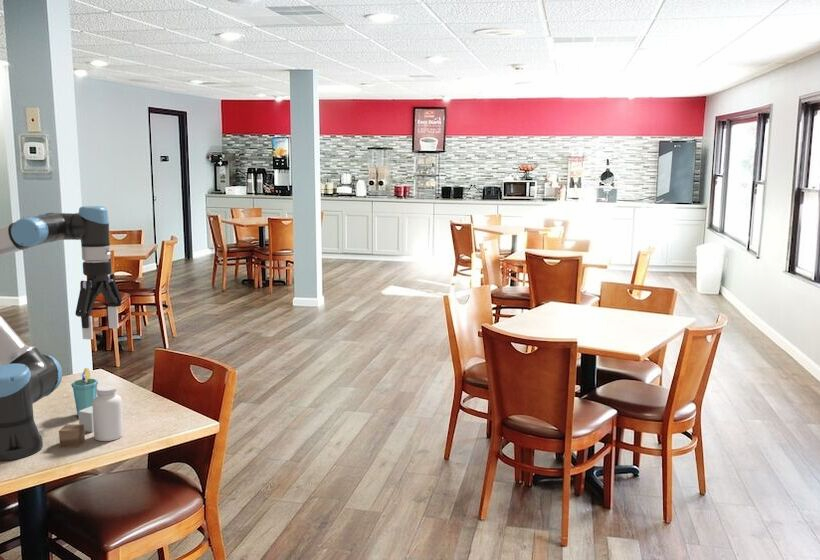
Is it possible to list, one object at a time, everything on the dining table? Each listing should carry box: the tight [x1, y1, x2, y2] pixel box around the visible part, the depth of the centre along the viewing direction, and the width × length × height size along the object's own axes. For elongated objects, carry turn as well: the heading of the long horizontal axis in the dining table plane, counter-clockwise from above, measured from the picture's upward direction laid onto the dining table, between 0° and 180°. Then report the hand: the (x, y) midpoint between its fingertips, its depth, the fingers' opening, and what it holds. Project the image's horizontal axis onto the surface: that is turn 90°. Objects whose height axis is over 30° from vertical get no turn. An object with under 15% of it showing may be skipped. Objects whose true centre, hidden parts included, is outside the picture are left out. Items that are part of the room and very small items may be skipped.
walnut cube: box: [58, 423, 86, 448], centre depth 209 cm, size 5×5×5 cm
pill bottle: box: [92, 384, 124, 442], centre depth 214 cm, size 8×8×15 cm
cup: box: [70, 367, 99, 417], centre depth 232 cm, size 14×8×15 cm, turn 24°
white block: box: [78, 406, 94, 434], centre depth 221 cm, size 5×5×6 cm
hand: (101, 333), depth 212 cm, fingers open, 13 cm apart
